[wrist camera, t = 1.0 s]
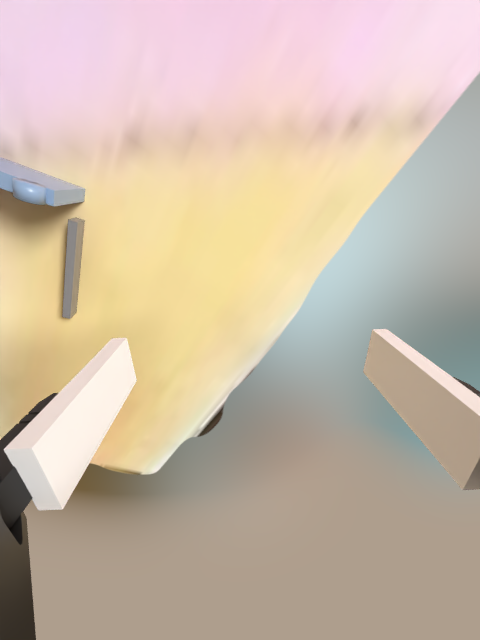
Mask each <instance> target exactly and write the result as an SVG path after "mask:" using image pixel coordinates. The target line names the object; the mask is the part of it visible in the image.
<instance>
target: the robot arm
mask: <svg viewBox="0 0 480 640" xmlns="http://www.w3.org/2000/svg"><path fill="white" fill-rule="evenodd" d="M363 372H364V374H365V375H366V376H367V377H368V378H369V379H370V381H371V382H372V383H373V384H374V385H375V387H376V388H377V389H378V390H379V391H380V393H381V394H382V395H383V396H384V397H385V399H386V400H387V401H388V402H389V403H390V404H391V406H392V407H393V408H394V409H395V410H396V412H397V413H398V414H399V415H400V416H401V417H402V418H403V420H404V421H405V422H406V423H407V425H408V426H409V427H410V428H411V429H412V431H413V432H414V433H415V434H416V435H417V436H418V437H419V439H420V440H421V441H422V442H423V444H424V445H425V446H426V447H427V448H428V450H429V451H430V452H431V453H432V454H433V455H434V457H435V458H436V459H437V460H438V461H439V463H440V464H441V465H442V466H443V467H444V468H445V470H446V471H447V472H448V473H449V474H450V475H451V477H452V478H453V479H454V480H455V482H456V483H457V484H458V485H459V486H460V487H461V489H462V490H474V489H480V392H479V391H478V390H476V389H475V388H474V387H472V386H471V385H469V384H467V383H465V382H463V381H461V380H459V379H457V378H455V377H451V376H450V375H449V374H447V373H446V372H444V371H443V370H442V369H440V368H439V367H438V366H436V365H435V364H434V363H432V362H431V361H429V360H428V359H427V358H425V357H424V356H423V355H421V354H420V353H419V352H417V351H416V350H414V349H413V348H411V347H410V346H409V345H407V344H406V343H405V342H403V341H402V340H400V339H399V338H398V337H396V336H395V335H394V334H393V333H391V332H389V331H388V330H387V329H374V330H372V334H371V339H370V343H369V348H368V353H367V357H366V362H365V367H364V371H363ZM136 381H137V380H136V375H135V371H134V367H133V362H132V358H131V354H130V349H129V345H128V341H127V338H112V339H111V340H110V341H109V342H108V343H107V344H106V345H105V346H104V347H103V348H102V349H101V350H100V351H99V352H98V353H97V354H96V355H95V356H94V357H93V358H92V359H91V360H90V362H89V363H88V364H87V365H86V366H85V367H84V368H83V369H82V370H81V371H80V372H79V373H78V374H77V375H76V376H75V377H74V378H73V379H72V380H71V381H70V382H69V383H68V384H67V385H66V386H65V387H64V388H63V389H62V390H61V391H60V392H59V393H53V394H52V395H50V396H48V397H47V398H45V399H44V400H42V401H40V402H39V403H38V404H37V405H36V406H35V407H34V408H33V409H32V410H31V411H30V412H29V414H28V415H26V416H25V417H24V418H23V419H22V420H20V421H19V422H20V423H19V424H16V425H15V426H14V427H13V428H12V429H11V430H10V431H9V432H8V433H7V434H6V435H5V436H4V437H3V438H2V439H1V440H0V640H36V635H35V622H34V610H33V597H32V583H31V570H30V558H29V545H28V532H27V519H26V516H25V514H24V512H23V511H24V509H25V508H26V506H27V505H28V504H29V502H30V501H31V499H32V500H33V502H34V504H35V505H36V507H37V509H38V510H57V509H63V508H64V506H65V504H66V502H67V501H68V499H69V497H70V495H71V494H72V492H73V490H74V488H75V487H76V485H77V483H78V482H79V480H80V478H81V476H82V475H83V473H84V471H85V470H86V468H87V466H88V464H89V463H90V461H91V459H92V457H93V456H94V454H95V452H96V450H97V449H98V447H99V445H100V443H101V442H102V440H103V438H104V437H105V435H106V433H107V431H108V430H109V428H110V426H111V424H112V423H113V421H114V419H115V417H116V416H117V414H118V412H119V410H120V409H121V407H122V405H123V404H124V402H125V400H126V398H127V397H128V395H129V393H130V391H131V390H132V388H133V386H134V384H135V383H136Z"/></svg>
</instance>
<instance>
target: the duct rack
mask: <svg viewBox="0 0 480 640" xmlns="http://www.w3.org/2000/svg"><path fill="white" fill-rule="evenodd" d="M0 188H1V189H4V190H7V191H10V192H13V197H15V198H16V199H19V200H21V201H25V202H28V203H32V204H38V205H45V204H48V205H51V206H60V205H66V204H72V203H78V202H84V196H85V189H84V188H82V187H79V186H76V185H74V184H71V183H68V182H65V181H63V180H60V179H57V178H55V177H52V176H49V175H47V174H44V173H41V172H39V171H36V170H33V169H30V168H28V167H25V166H22V165H20V164H17V163H14V162H12V161H9V160H6V159H4V158H1V157H0ZM84 222H85V220H82V219H79V218H73V219H69V220H68V233H67V250H66V266H65V282H64V299H63V315H62V317H65V318H69V319H70V318H71V317H72V316H73V315H74V314H75V313H76V311H77V300H78V289H79V278H80V267H81V255H82V244H83V233H84Z"/></svg>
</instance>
